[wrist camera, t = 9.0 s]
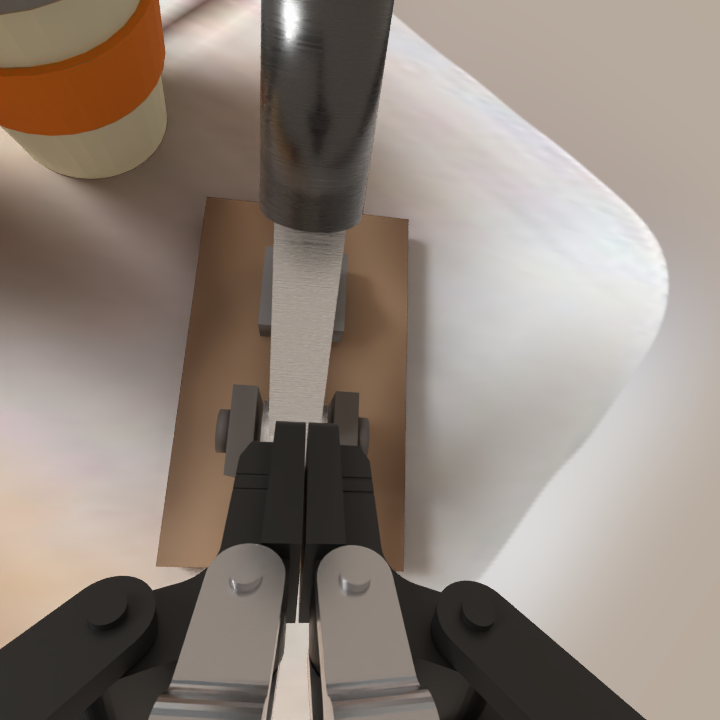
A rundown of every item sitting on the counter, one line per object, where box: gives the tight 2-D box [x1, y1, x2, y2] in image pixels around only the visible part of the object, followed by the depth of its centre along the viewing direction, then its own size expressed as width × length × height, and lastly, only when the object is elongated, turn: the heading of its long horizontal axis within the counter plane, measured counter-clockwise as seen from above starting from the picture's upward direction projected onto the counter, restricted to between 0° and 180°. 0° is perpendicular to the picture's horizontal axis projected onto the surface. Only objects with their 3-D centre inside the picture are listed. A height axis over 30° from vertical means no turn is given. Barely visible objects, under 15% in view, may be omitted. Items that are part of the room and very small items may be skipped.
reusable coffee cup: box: [0, 0, 167, 179], centre depth 24 cm, size 13×13×15 cm
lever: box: [260, 0, 394, 459], centre depth 15 cm, size 4×4×20 cm
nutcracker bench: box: [156, 197, 408, 571], centre depth 25 cm, size 12×20×8 cm, turn 178°
